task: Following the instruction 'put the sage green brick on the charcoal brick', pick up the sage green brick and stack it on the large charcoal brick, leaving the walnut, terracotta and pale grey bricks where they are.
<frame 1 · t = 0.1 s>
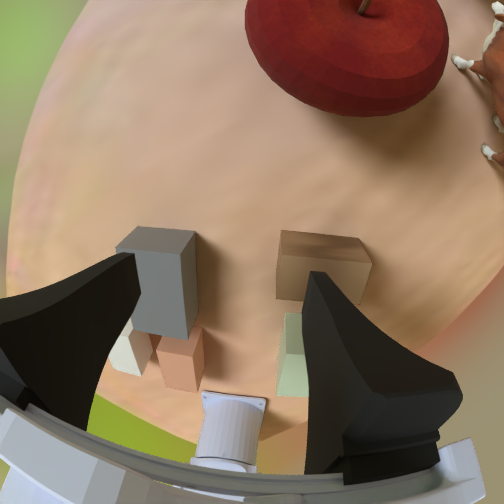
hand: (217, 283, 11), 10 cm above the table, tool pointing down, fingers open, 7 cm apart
walnut brick: (316, 253, 21), on the table
apple: (326, 52, 14), on the table
charcoal brick: (169, 270, 23), on the table
bull figurine: (476, 90, 13), on the table
pale grey brick: (134, 328, 27), on the table
sage brick: (299, 336, 26), on the table
terracotta brick: (187, 344, 27), on the table
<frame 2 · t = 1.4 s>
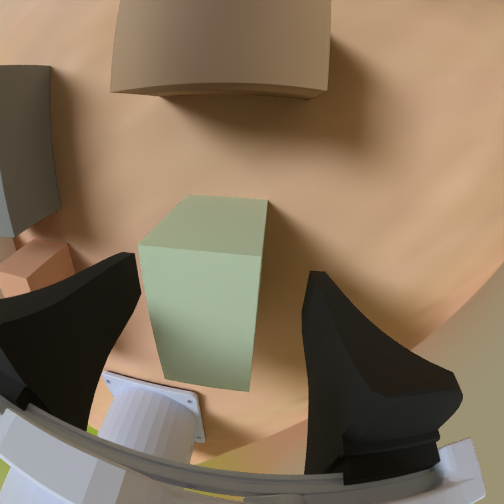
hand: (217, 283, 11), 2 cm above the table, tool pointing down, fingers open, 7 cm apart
walnut brick: (234, 55, 9), on the table
charcoal brick: (27, 143, 11), on the table
pale grey brick: (8, 258, 15), on the table
sage brick: (225, 258, 13), on the table
terracotta brick: (61, 281, 15), on the table
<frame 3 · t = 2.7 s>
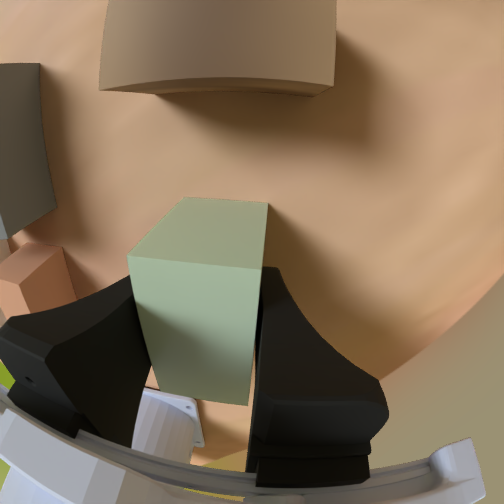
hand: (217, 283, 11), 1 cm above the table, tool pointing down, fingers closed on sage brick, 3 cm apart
walnut brick: (233, 50, 8), on the table
charcoal brick: (20, 144, 10), on the table
pale grey brick: (4, 261, 14), on the table
sage brick: (223, 265, 12), on the table, touching gripper
terracotta brick: (56, 286, 14), on the table
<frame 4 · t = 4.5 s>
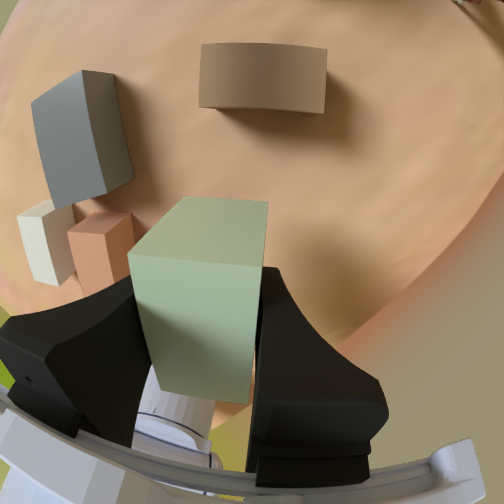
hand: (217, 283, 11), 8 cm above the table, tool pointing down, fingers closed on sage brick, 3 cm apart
walnut brick: (265, 84, 15), on the table
charcoal brick: (97, 135, 17), on the table
pale grey brick: (64, 231, 21), on the table
sage brick: (224, 264, 12), point 7 cm above the table, touching gripper
terracotta brick: (118, 246, 21), on the table
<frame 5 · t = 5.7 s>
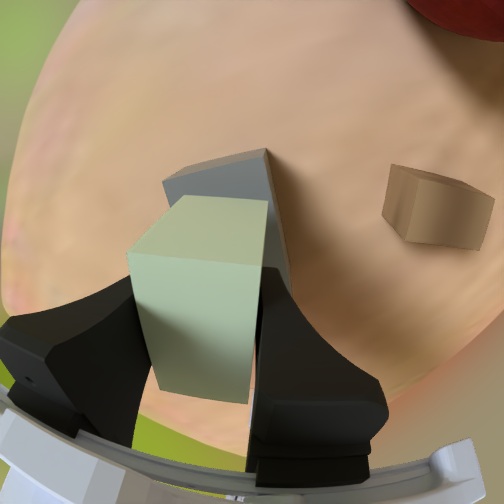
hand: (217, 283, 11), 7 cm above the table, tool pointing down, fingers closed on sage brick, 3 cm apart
walnut brick: (424, 196, 16), on the table
charcoal brick: (240, 217, 18), on the table
sage brick: (223, 263, 12), point 6 cm above the table, touching gripper
when the fingers open (7 cm above the table, at t = 6.5 s): sage brick drops 2 cm, resting on charcoal brick.
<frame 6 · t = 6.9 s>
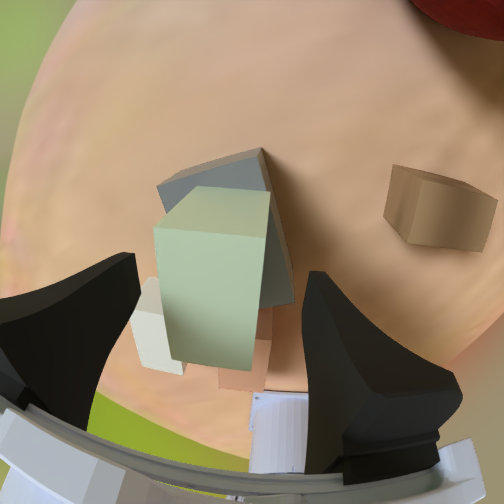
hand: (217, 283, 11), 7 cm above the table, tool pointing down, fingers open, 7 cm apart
walnut brick: (426, 197, 15), on the table
charcoal brick: (239, 219, 17), on the table, touching sage brick
pale grey brick: (173, 309, 21), on the table
sage brick: (230, 247, 14), point 4 cm above the table, touching charcoal brick
terracotta brick: (248, 328, 21), on the table
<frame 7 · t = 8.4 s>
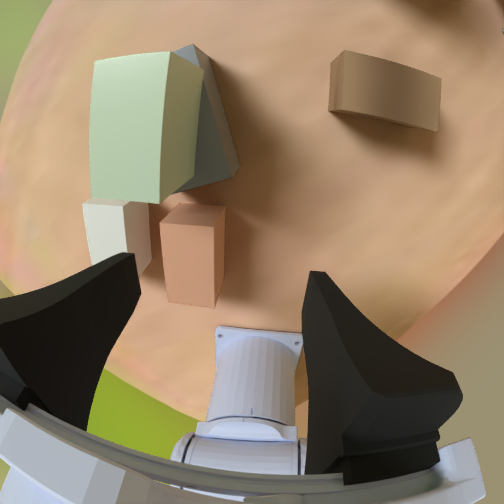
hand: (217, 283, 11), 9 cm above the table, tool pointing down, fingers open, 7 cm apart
walnut brick: (372, 94, 15), on the table
charcoal brick: (189, 120, 17), on the table, touching sage brick
pale grey brick: (131, 223, 21), on the table
sage brick: (168, 121, 13), point 4 cm above the table, touching charcoal brick
terracotta brick: (202, 241, 21), on the table
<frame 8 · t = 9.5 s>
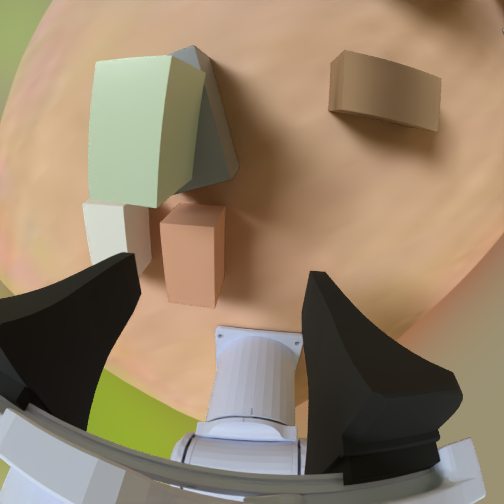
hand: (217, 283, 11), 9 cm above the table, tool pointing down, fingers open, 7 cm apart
walnut brick: (372, 94, 15), on the table
charcoal brick: (190, 121, 17), on the table, touching sage brick
pale grey brick: (131, 223, 21), on the table
sage brick: (168, 123, 14), point 4 cm above the table, touching charcoal brick
terracotta brick: (202, 241, 21), on the table
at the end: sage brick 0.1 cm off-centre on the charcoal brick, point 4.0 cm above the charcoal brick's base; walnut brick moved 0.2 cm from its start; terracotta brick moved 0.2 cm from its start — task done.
